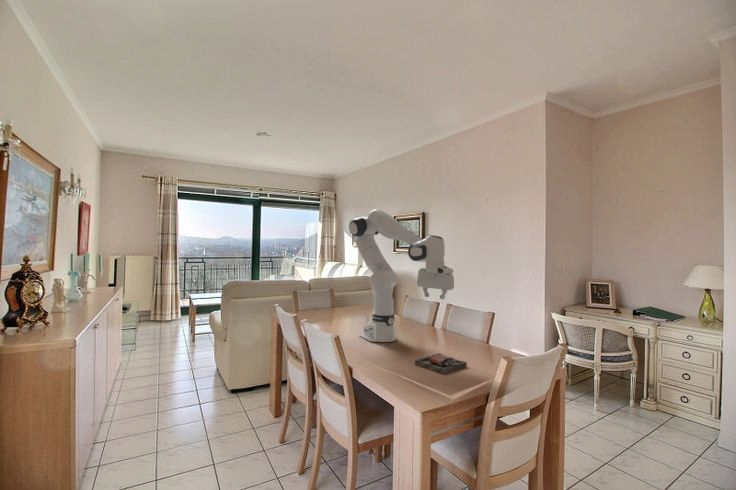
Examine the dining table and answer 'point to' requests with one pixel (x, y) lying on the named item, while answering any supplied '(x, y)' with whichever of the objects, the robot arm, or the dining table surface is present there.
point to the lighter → (441, 360)
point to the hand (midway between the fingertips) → (434, 297)
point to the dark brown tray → (443, 370)
